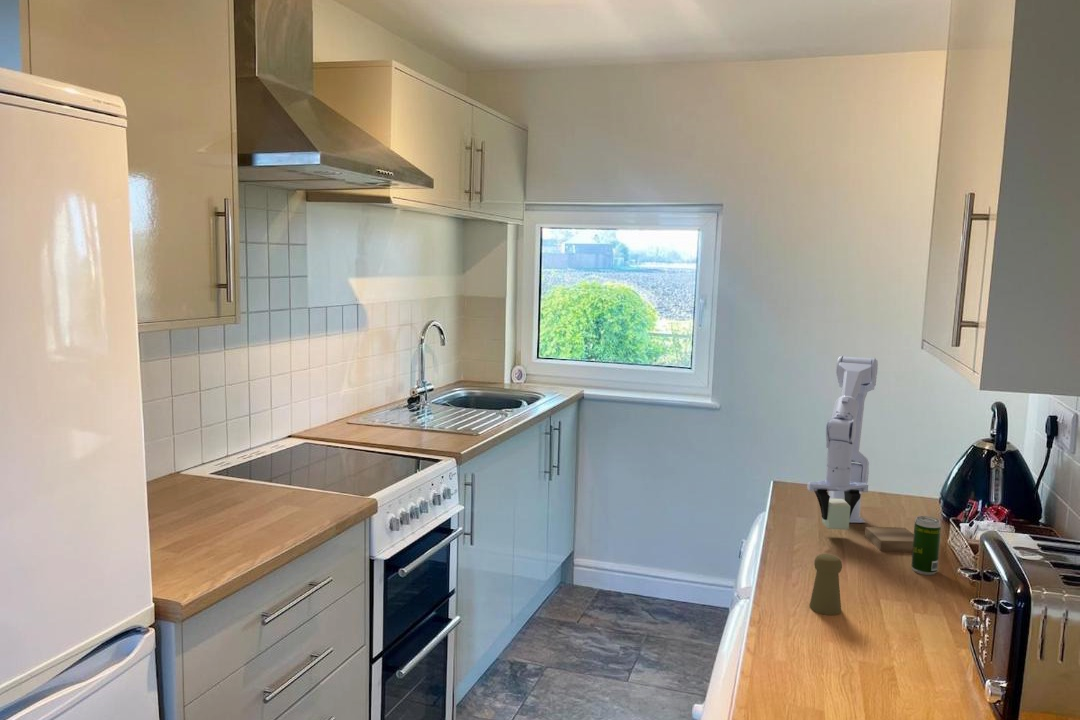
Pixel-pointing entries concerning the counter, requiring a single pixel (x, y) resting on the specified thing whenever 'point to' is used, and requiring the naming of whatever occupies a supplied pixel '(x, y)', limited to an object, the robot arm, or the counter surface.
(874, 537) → the walnut block
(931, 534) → the beer can
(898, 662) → the counter surface
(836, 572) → the olive pepper mill
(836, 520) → the tea tin
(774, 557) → the counter surface
